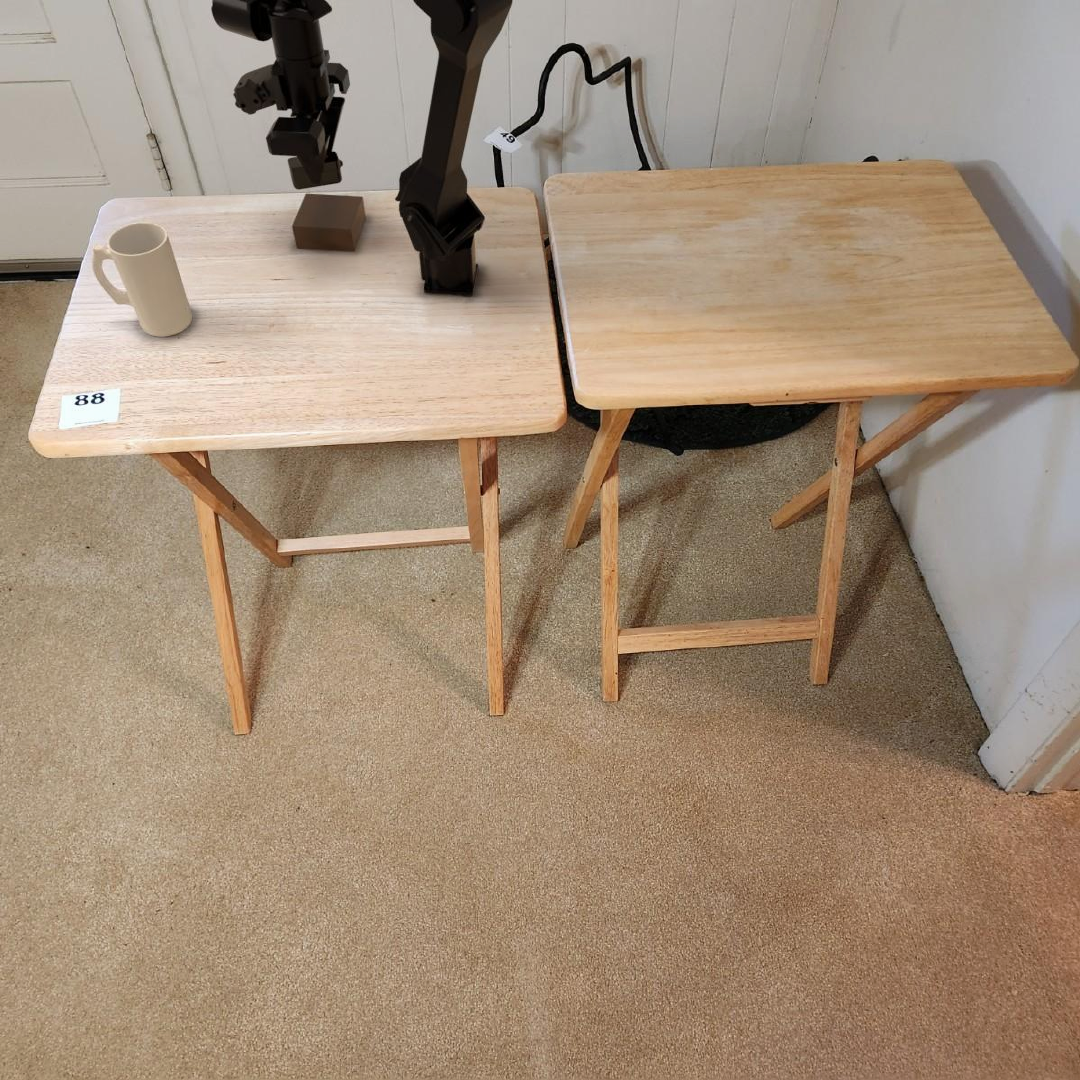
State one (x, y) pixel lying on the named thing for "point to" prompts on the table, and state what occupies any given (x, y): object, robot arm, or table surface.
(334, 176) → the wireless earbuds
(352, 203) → the walnut block
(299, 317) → the table surface
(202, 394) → the table surface
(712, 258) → the table surface
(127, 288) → the mug
